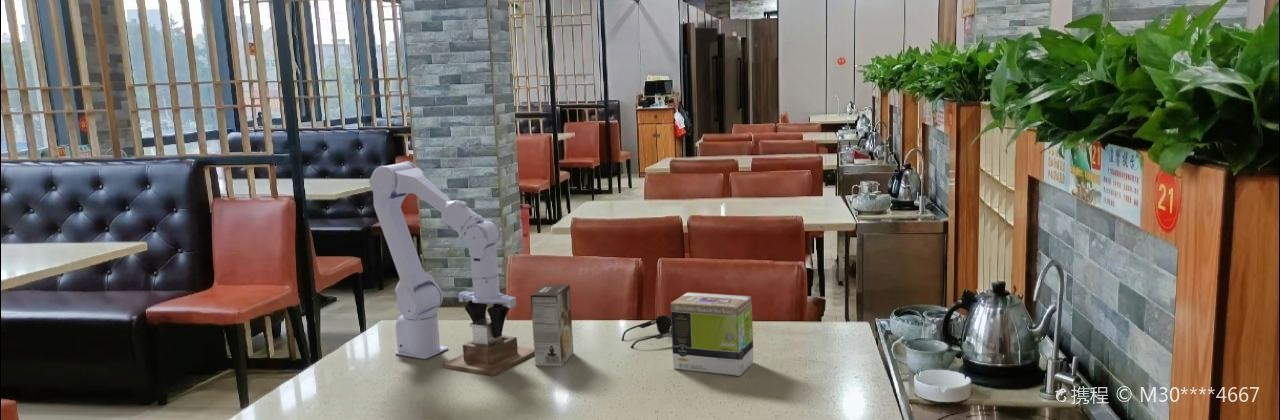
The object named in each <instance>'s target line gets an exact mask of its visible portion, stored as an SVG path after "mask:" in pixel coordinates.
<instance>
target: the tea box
mask: <svg viewBox="0 0 1280 420" xmlns="http://www.w3.org/2000/svg"><path fill="white" fill-rule="evenodd" d="M670 317H671V326H672V335H671V348H672V349H671V350H672V351H671V352H672V364H673V369H676V370H685V371H695V372H702V373H710V374H720V375H728V376H729V375H730V376H738V377H739V376H741V375H742V374H743V373H744V372H745V371H747V369H748V368H749V367H750V366H751V365H752V364H753V363H754V330H753V300H752V296H751V295H736V294H721V293H705V292H704V293H703V292H691V291H688V292H686V293H684V294H683V295H681V296H680V297H678V298H677V299H675V300H673V301H671V302H670Z"/></svg>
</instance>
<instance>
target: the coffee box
mask: <svg viewBox="0 0 1280 420" xmlns="http://www.w3.org/2000/svg"><path fill="white" fill-rule="evenodd" d="M530 304H531V305H530V306H531V308H530V309H531V320H532V333H533V335H532V336H533V349H534V353H535V355H534V365H535V366H540V367H541V366H542V367H543V366H545V367H549V366H550V367H562V366H564V364H565V363H566V362H567V361H568V360H569V358H570V357H571V356H572V355H573V354H574V340H573V339H574V336H573V322H572V321H573V320H572V306H571V305H572V303H571V290H570V284H542V285H541V286H540V287H539V288H537V290H535V291H534V292H533V293H531V294H530Z"/></svg>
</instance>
